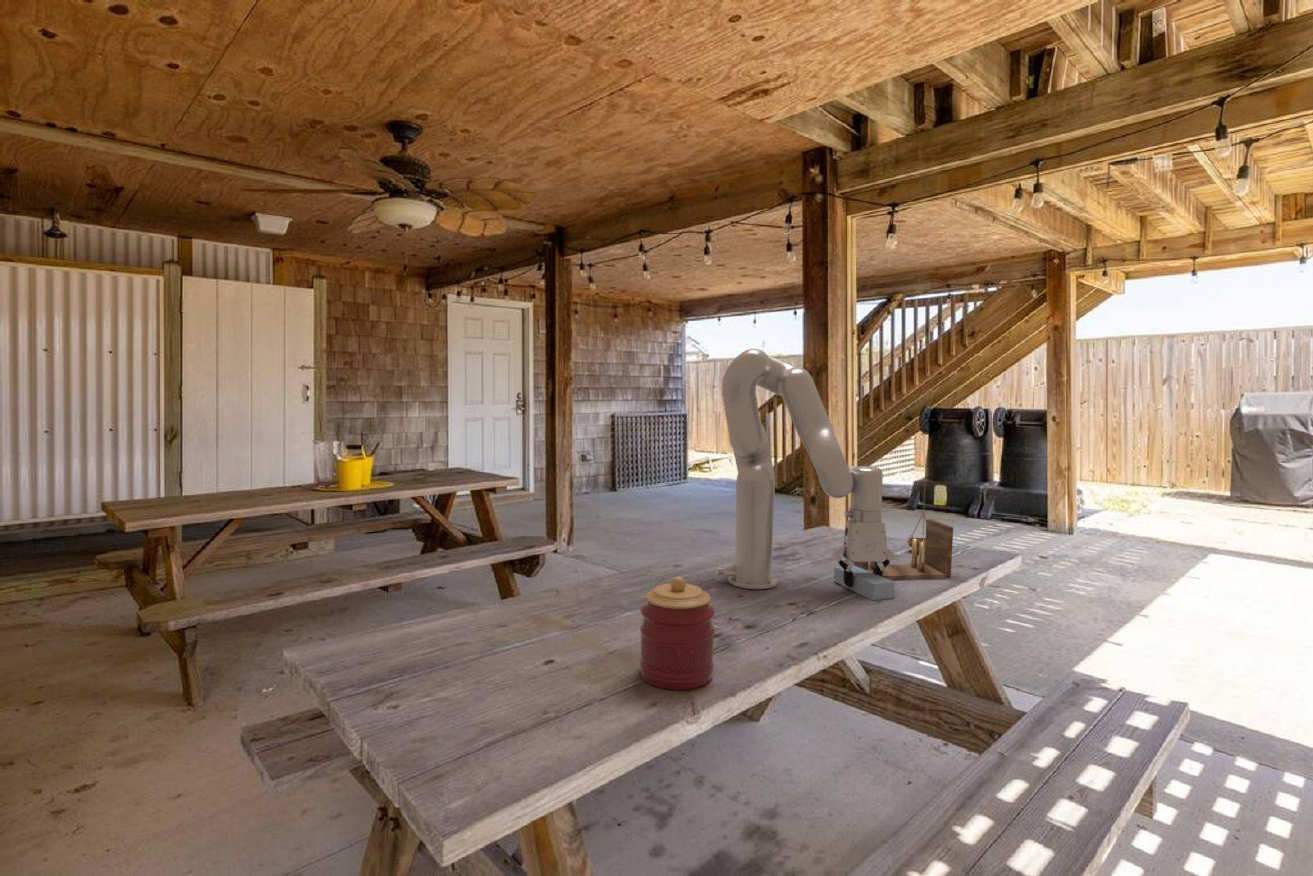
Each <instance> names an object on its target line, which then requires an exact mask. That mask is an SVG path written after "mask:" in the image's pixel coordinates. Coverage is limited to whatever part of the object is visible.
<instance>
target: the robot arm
mask: <svg viewBox="0 0 1313 876" xmlns="http://www.w3.org/2000/svg"><path fill="white" fill-rule="evenodd" d="M757 386H758V387H760V388H762V389H764V390H766V391H768V392H771V393H773V394H775V395H778V396H780V397H782V399H783V401H784V403H785V406H786V408H787V409H786V410H787V411H788V414H789V416H790V419H791V421H792V423H793V424H792V425H793V426H794V428H795V431H796V432H797V435H798V437H799V439H800V440H799V441H800V442H801V443H802V445H803V446H804V448H805V450H806V451H807V454H808V456H809V458H810V461H811V463H812V465H813V467H814V469H815V472H816V475H817V477H818V480H819V484H820V486H821V488H822V489H823V492H824V493H825V494H826V495H827V496H829V497H831V498H833V499H840V498H841V499H843V498H845V497H846V496H848V495H849V494H850V496H849V497H850V500H849V507H848V508H849V509H848V511H846V510H845V512H844V517H847V518H848V519H847V520H846V524H845V528H844V532H843V539H842V546H841V547H840V548H838V549H837V550H836V551H835V552H834V553H833V554H832V558H833V559H834V560H835V561H836V562H837V564H838V565H839V566H841V567H842V568H843V569H844V583H845V585H846V586H848V587H849V588H851V587H852V583H853V572H851V569H852V567H853V565H854V563H863V562H868V563H870V562H874V564H875V568H874V569H873V573H874V574H876V575H879V576H881V577H882V574H883V571H884V570H885V567H886V566H887V565H890V563H891V562H892V560H893V559H894V558H895V556H896V554H895V553H894V552H893V551H892V550H891V549H889V548H888V543H887V542H888V539H887V531H886V530H887V529H886V524H885V521H882V504H883V503H882V501H883V481H884V479H883V477H884V476H883V474H884V473H883V471H882V469H881V468H880V467H877V466H869V465H860V466H852V465H848V464H847V461H846V458H845V455H844V454H843V451H842V450H841V449H842V448H841V447H840V445H839V442H838V439H837V437H836V434H835V431H834V428H833V426H832V423H831V420H830V418H829V416H828V413H827V411H826V409H825V406H824V404H823V402H822V398H821V397H820V394H819V392H818V390H817V389H818V388H817V386H816V384H815V382H814V379H813V377H812V376H811V374H810V373H809V371H808V370H807V369H804V368H802V367H797V366H794V365H791V364H789V363H786V362H783V361H781V360H780V359H777V358H775V357H773V356H771V355H769V354H767V353H766V352H765V351H763V350H761V349H758V348H749V349H746V350H744V351H742V352H741V353H739V354H738V355H737V356H736V357H734V359H733V360H732V361H731V362H730V364H729V365H728V366H727V368H726V370H725V372H724V374H723V378H722V384H721V394H722V396H721V397H722V403H723V407H724V414H725V420H726V425H727V429H728V438H729V439H728V440H729V445H730V446H731V448H732V451H733V456H734V460H735V464H736V470H737V476H736V483H735V484H736V488H735V491H736V492H735V493H736V494H735V495H736V497H735V499H736V501H735V503H736V504H735V505H736V506H735V508H736V509H735V542H734V543H735V545H734V546H735V550H734V551H735V552H734V555H735V556H734V562H731V565H729V566H728V567H724V566H721V567H719V566H718V567H716V570H715V571H716V575H717V576H723V577H726V578H727V577H728V583H729V584H730V585H732V586H735V587H737V588H741V589H747V590H765V589H766V590H768V589H771V588H775V587H776V586H778V580H779V579H778V577H776V576H774V575H773V552H774V551H773V550H774V549H773V548H774V546H773V545H774V517H775V516H774V509H775V493H776V492H775V490H776V477H775V476H776V475H775V470H774V464H773V460H772V455H771V450H770V445H769V440H768V435H767V431H766V429H765V426H764V425H763V423H762V420H761V416H760V415H761V414H760V410H759V404H758V403H759V402H758V399H757V393H756V391H757V390H756V389H757ZM842 557H843V558H845V560H843V559H842Z"/></svg>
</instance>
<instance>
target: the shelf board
mask: <svg viewBox="0 0 1313 876" xmlns="http://www.w3.org/2000/svg"><path fill="white" fill-rule="evenodd" d="M833 569H834V570H833V572H834V573H833V583H835V582H837V583H839V584H841V585H842V587H844V586H845V587H844V588H846V587H847V588H846V589H848V588H849V587H848V586H846V585H845V583H844V569H843V568H842V567H841V566H840V565H839V566H834V567H833ZM851 572H853V583H852V587H851V588H849V590H850V591H852V592H854V591H855V592H854V593H856V594H859V595H861V596H863V597H865V598H867V599H869V600H871V601H880V600H889V599H895V581H894V580H889V579H886V578H884V577H881V576H879V575H876V574H874V573H872V572H869V571H867V570H864V569H862V568H859V567H857V566H855V565H853V567H852V569H851ZM837 583H836V584H837ZM839 584H838V585H839ZM841 585H840V586H841Z"/></svg>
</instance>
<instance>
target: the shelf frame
mask: <svg viewBox="0 0 1313 876" xmlns="http://www.w3.org/2000/svg"><path fill="white" fill-rule="evenodd" d="M925 524H926V525H925V538H926V541H925V542H926V553H925V572H919V571H918V566H919V563H917V568H911V563H906V564H905V563H904V564H902V563H901V564H899V563H898V564H895V563H894V564H888V565H887V566H886V567H885V570H884V571H883V574H882V577H884V578H886V579H889V580H891V581H908V580H909V581H913V580H914V579H915V580H914V581H916V580H917V579H923V580H947V579H946V578H951V577H952V558H953V541H954V538H953V537H954V526H950V525H948V524H945V523H943V522H939V521H937V520H935V519H932V518H931V519H930V518H929V519H927V518H926V521H925ZM854 565H855V566H857V567H859V568H862V569H864V570H867V571H869V572H872V573H873V569H870V564H869V562H863V563H854ZM917 581H918V580H917Z"/></svg>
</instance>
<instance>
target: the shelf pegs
mask: <svg viewBox="0 0 1313 876" xmlns="http://www.w3.org/2000/svg"><path fill="white" fill-rule="evenodd" d="M925 553H926V542H920V546H919V551H918V539H912V548H911V557H910V558H911V560H910V564H911V568H917V564H919V566H918V571H919V572H925ZM869 565H870V569H874V568H875V564H874V562H869Z"/></svg>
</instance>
